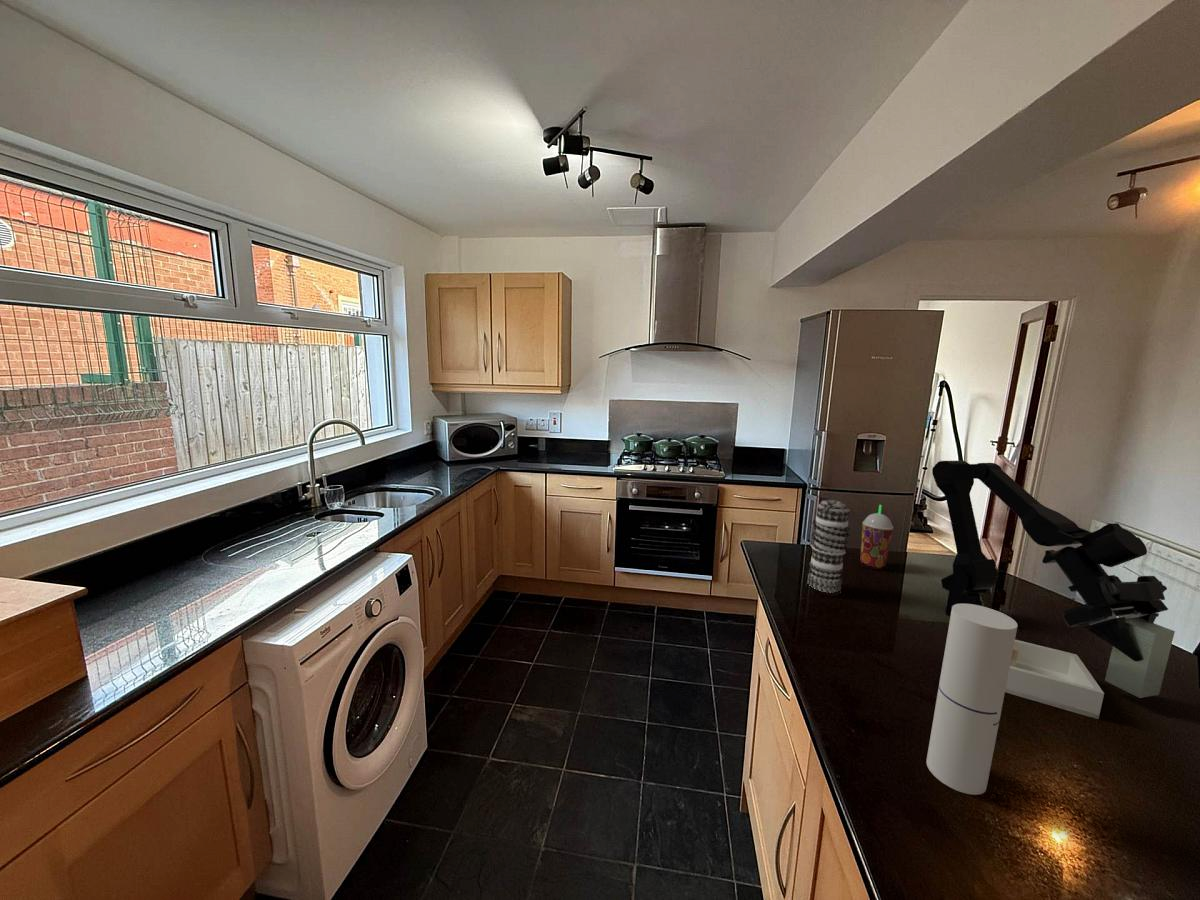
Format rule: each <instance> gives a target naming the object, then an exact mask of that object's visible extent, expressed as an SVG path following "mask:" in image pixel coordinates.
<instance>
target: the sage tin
mask: <svg viewBox="0 0 1200 900" xmlns="http://www.w3.org/2000/svg"><path fill="white" fill-rule="evenodd" d="M1124 629H1125V631H1126V632H1127V634H1128V636H1129V637H1130V639H1131V640H1132V642H1133V644H1134V645H1135V647H1136V648H1137V650H1138V652H1139V654H1140V656H1141V657H1142V660H1141V661H1134V660H1132V659H1131V658H1129V657H1128V656H1127V655H1125V654H1124V653H1122V652H1121V651H1119V650H1118V649H1116V648H1115V647H1114V646H1112V648H1111V652H1110V656H1109V657H1110V658H1109V660H1108V667H1107V669H1106V674H1105V679H1104V681H1105V682H1107V683H1109V684H1111V685H1113V686H1114V687H1117V688H1119V689H1121V690H1122V691H1125V692H1127V693H1128V694H1131V695H1133V696H1135V697H1137V698H1139V699H1141V698H1148V697H1154V696H1159V695H1160V692H1161V688H1162V685H1163V681H1164V676H1165V671H1166V669H1167V665H1168V664H1167V663H1168V660H1169V656H1170V651H1171V648H1172V645H1173V640H1174V636H1175V632H1176V631H1175V630H1173V629H1170V628H1167V627H1165V626H1163V625H1159V624H1157V623H1155V622H1154V623H1152V622H1149V621H1146V620H1144V619H1141V618H1139V617H1135V618H1127V619H1125V625H1124Z"/></svg>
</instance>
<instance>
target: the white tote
mask: <svg viewBox="0 0 1200 900" xmlns="http://www.w3.org/2000/svg"><path fill="white" fill-rule="evenodd" d="M1014 644H1015V646H1016V648H1017V650H1018V655H1017V660H1016V666H1015V667H1013V666H1010V668H1009V673H1008V678H1007V684H1006V689H1005V693H1006V694H1010V695H1014V696H1016V697H1020V698H1024V699H1027V700H1030V701H1033V702H1034V701H1035V702H1037V703H1040V704H1043V705H1044V704H1045V705H1048V706H1052V707H1055V708H1058V709H1061V710H1065V711H1068V712H1072V713H1074V714H1079V715H1081V716H1082V715H1083V716H1086V717H1089V718H1093V719H1097V720H1099V719H1100V713H1101V710H1102V705H1103V701H1104V695H1105V692H1104V691H1103V690H1102V689H1101V687H1100V685H1099V684H1098V683H1097V681H1096V679H1094V676H1093V675H1092V674H1091V672H1090V671H1089V670H1088V668H1087V667H1086V666H1085V664H1084V662H1083V661H1082V660H1081V659H1080V657H1079V656H1078V654H1075V653H1072V652H1069V651H1068V652H1067V651H1064V650H1059V649H1055V648H1052V647H1048V646H1044V645H1043V646H1042V645H1039V644H1035V643H1031V642H1027V641H1022V640H1019V639H1015V642H1014Z"/></svg>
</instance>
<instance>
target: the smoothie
mask: <svg viewBox="0 0 1200 900" xmlns="http://www.w3.org/2000/svg"><path fill="white" fill-rule="evenodd" d="M893 532H894V526H893V524H892V521H891V518H889V517H888V516H887V515H885V514H883V513H882V504H879V505H878V512H874V513H871V514H868V515H867V516H866V518H865V519H864V520H863V521H862V526H861V541H860V542H861V543H860V546H861V547H860V559H859V561H860V562H861V564H862V563H864V564H866V565H868V566H872V567H876V568H882V567H883V568H884V567H886V563H887V559H888V554H889V549H890V544H891V540H892V537H893Z"/></svg>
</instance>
